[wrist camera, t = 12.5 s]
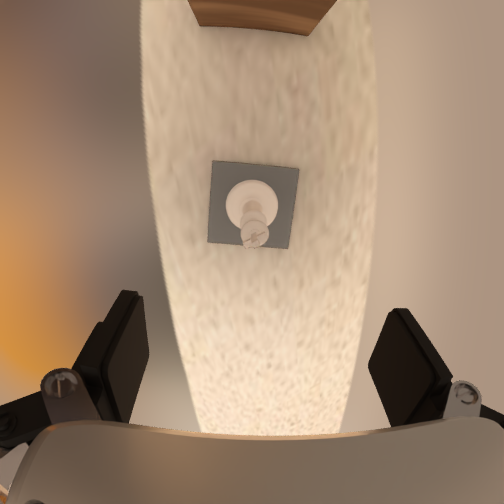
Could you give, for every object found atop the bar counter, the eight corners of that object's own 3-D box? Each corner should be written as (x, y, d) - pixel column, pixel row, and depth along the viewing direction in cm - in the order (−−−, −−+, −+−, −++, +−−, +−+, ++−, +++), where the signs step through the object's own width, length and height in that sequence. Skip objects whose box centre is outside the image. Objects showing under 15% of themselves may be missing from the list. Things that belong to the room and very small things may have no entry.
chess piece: (286, 216, 30) (305, 259, 21) (240, 238, 31) (239, 289, 22) (263, 170, 28) (273, 194, 19) (216, 194, 29) (203, 229, 20)
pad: (213, 160, 28) (212, 161, 28) (298, 168, 29) (299, 169, 28) (208, 240, 31) (207, 242, 31) (287, 247, 32) (287, 248, 32)
